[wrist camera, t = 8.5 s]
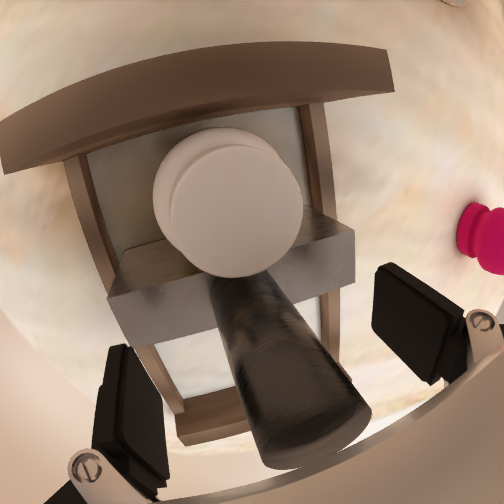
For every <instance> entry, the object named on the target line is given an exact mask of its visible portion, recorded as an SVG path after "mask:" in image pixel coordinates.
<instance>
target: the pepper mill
mask: <svg viewBox="0 0 504 504" xmlns="http://www.w3.org/2000/svg"><path fill="white" fill-rule="evenodd" d="M457 245H458V248H459V250H460V252H462V253H463V254H465V255H467V256H469V257H471V258H475V257H477V259H478V262H479V264H480V266H481V267H482V268H483V269H484V270H486V271H488V272H490V273H493V274H498V275H504V208H495V209H493V210H492V211H490V210H489V208H488V207H487V206H484V205H482V204H479V203H472V204H470V205H469V206H468V207H467V208H466V209H465V211H464V213H463V215H462V217H461V220H460V222H459V226H458V231H457Z"/></svg>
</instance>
